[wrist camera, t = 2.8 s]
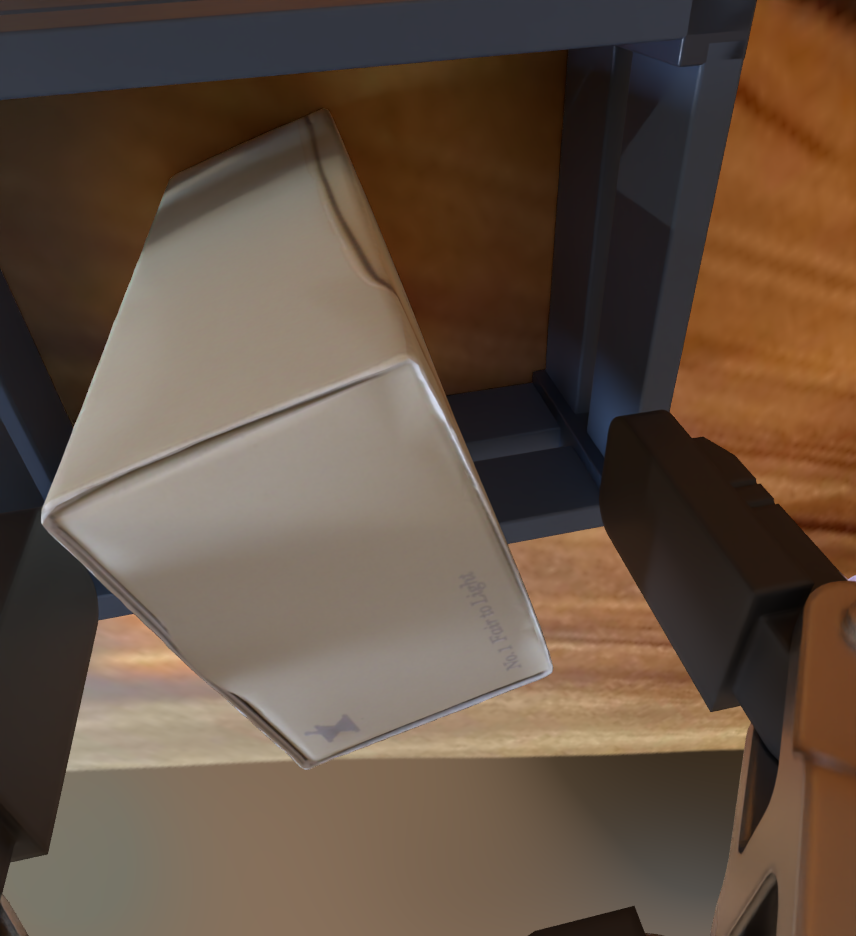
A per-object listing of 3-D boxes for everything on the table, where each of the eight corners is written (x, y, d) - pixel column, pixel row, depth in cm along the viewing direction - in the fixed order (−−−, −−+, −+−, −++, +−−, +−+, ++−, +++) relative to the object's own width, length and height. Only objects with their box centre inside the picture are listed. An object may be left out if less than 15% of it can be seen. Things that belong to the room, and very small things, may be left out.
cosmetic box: (417, 320, 20) (572, 678, 10) (277, 382, 20) (306, 783, 11) (323, 92, 16) (437, 344, 6) (148, 173, 16) (18, 526, 7)
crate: (66, 476, 21) (15, 637, 16) (-162, 11, 13) (-376, 60, 9) (565, 397, 23) (647, 519, 18) (607, -44, 15) (764, -28, 11)
